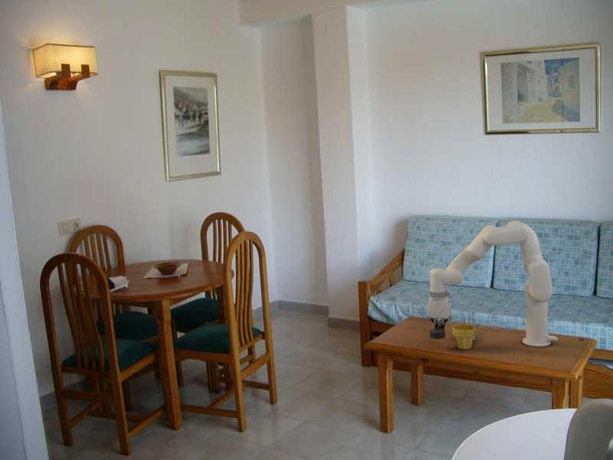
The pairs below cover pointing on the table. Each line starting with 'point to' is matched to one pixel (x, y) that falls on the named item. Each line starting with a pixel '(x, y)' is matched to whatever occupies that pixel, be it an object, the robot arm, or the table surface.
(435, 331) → the ladle
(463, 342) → the flower pot
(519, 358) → the table surface
